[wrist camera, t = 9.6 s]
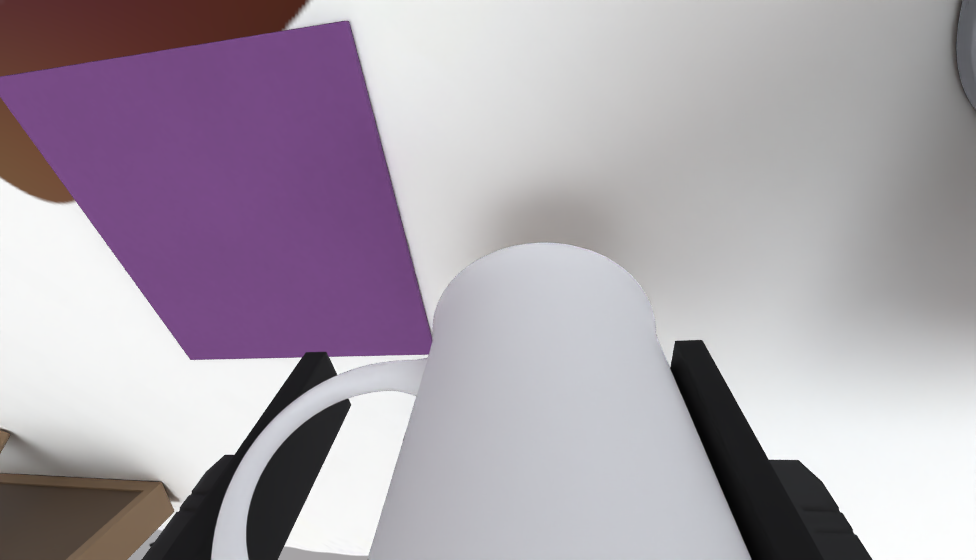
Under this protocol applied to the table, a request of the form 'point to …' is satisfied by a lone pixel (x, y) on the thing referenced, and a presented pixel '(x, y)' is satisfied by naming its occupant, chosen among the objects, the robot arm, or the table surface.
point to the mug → (529, 427)
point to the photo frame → (77, 516)
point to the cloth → (238, 191)
